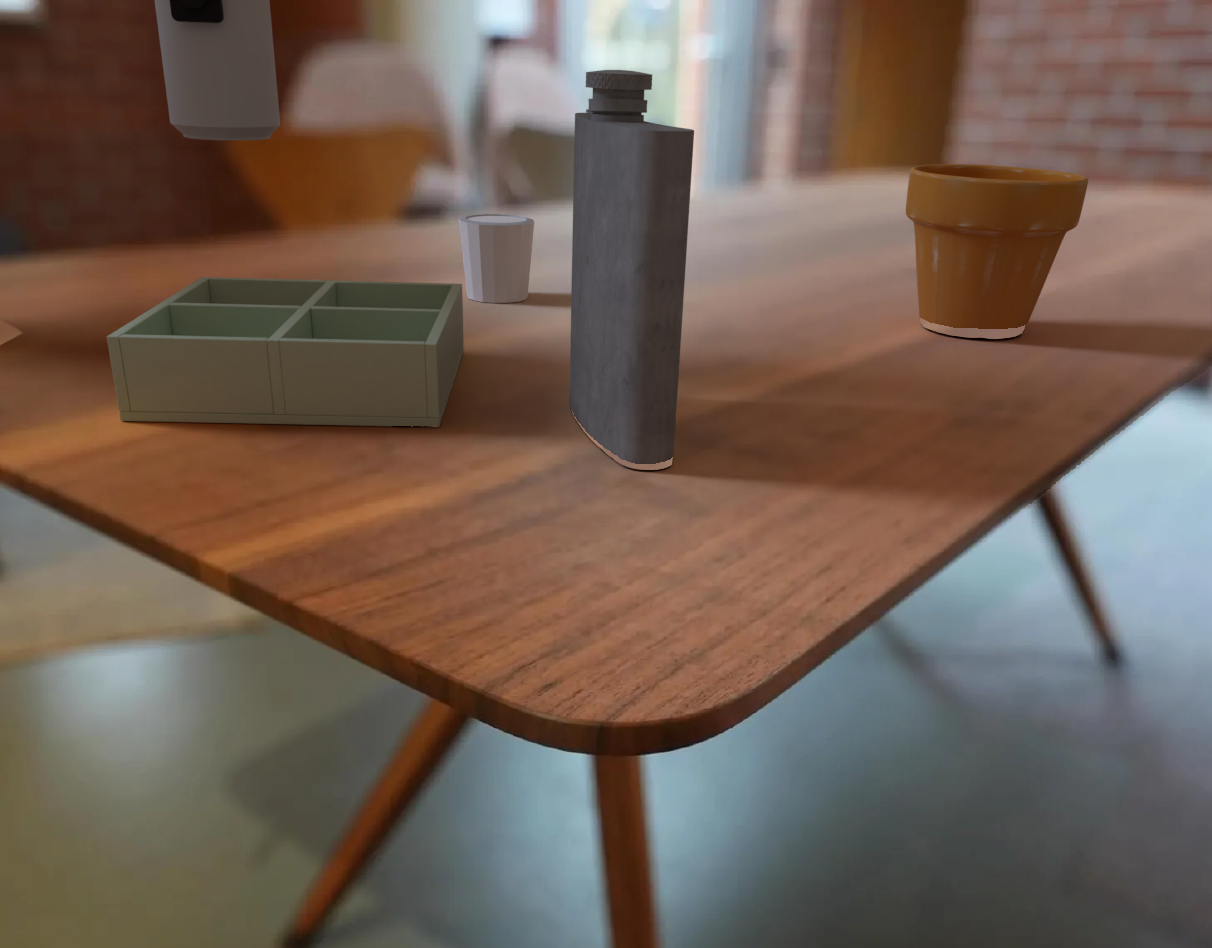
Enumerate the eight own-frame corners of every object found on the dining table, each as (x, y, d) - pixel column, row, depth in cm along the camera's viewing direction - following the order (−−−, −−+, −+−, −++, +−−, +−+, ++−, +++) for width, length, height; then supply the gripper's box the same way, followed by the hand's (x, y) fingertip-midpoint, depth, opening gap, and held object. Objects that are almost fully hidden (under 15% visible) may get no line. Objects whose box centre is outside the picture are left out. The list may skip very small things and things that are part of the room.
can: (201, 142, 75) (177, -66, 69) (153, 134, 80) (127, -61, 74) (301, 140, 79) (285, -55, 74) (250, 132, 84) (232, -51, 79)
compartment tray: (120, 421, 67) (106, 336, 65) (209, 346, 84) (201, 276, 82) (439, 427, 68) (436, 344, 66) (463, 352, 85) (462, 283, 83)
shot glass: (520, 288, 108) (520, 212, 105) (544, 302, 103) (544, 222, 100) (451, 291, 106) (449, 214, 103) (472, 306, 100) (470, 224, 97)
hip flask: (680, 469, 62) (706, 75, 54) (609, 473, 62) (625, 72, 53) (610, 392, 76) (622, 68, 67) (552, 394, 75) (556, 65, 66)
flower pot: (955, 353, 90) (985, 181, 84) (856, 316, 102) (877, 163, 96) (1091, 343, 95) (1128, 180, 89) (982, 309, 106) (1008, 163, 101)
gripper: (159, -268, 76) (193, 24, 84) (62, -350, 60) (115, 18, 68) (271, -262, 76) (294, 27, 84) (203, -342, 61) (240, 22, 69)
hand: (214, 21), depth 76 cm, fingers closed on can, 7 cm apart
